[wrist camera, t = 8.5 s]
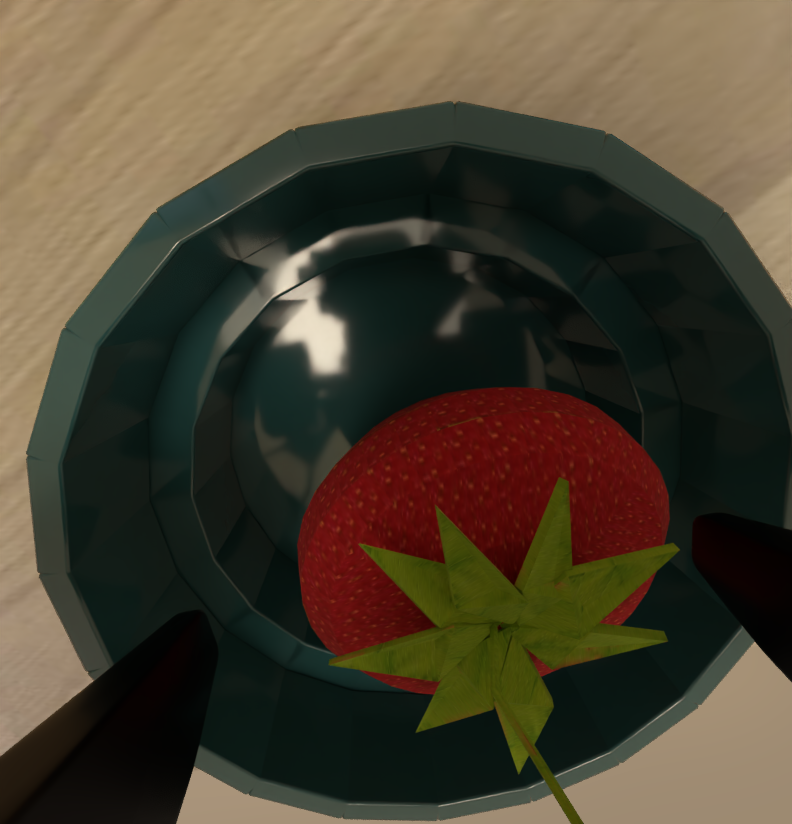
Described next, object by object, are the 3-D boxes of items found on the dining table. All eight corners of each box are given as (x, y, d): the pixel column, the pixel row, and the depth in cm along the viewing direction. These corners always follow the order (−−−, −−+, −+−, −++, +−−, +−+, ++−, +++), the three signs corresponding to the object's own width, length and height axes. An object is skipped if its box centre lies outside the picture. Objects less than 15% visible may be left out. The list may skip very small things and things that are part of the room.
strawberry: (557, 478, 14) (951, 839, 5) (360, 552, 15) (355, 1046, 5) (513, 318, 13) (977, 382, 3) (290, 404, 13) (81, 715, 3)
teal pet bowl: (624, 581, 16) (781, 755, 10) (254, 652, 16) (183, 872, 10) (619, 164, 12) (878, 26, 6) (119, 251, 12) (-152, 201, 6)
